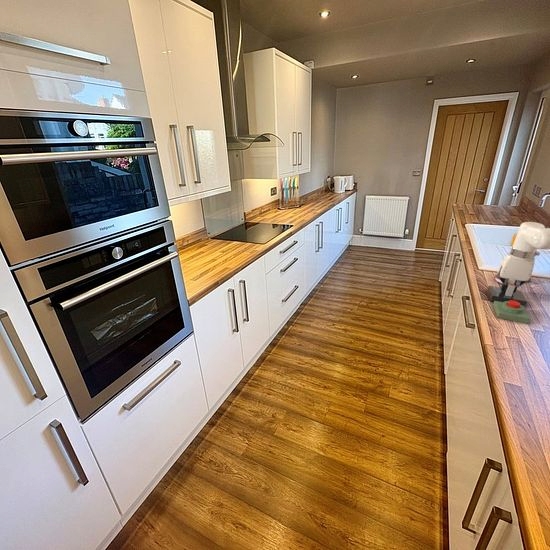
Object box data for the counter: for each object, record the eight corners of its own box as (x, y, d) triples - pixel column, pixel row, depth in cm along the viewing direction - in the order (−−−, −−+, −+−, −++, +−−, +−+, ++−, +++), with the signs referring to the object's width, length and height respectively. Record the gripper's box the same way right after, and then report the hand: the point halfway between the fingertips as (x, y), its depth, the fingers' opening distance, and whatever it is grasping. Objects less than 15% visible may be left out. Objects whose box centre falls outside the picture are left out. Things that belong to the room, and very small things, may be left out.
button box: (522, 310, 118) (525, 302, 116) (529, 323, 110) (533, 314, 108) (492, 305, 122) (495, 296, 120) (497, 317, 114) (500, 308, 112)
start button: (517, 305, 115) (519, 301, 114) (519, 309, 112) (521, 305, 111) (506, 303, 116) (508, 299, 115) (508, 307, 113) (510, 303, 112)
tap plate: (518, 296, 127) (521, 290, 126) (524, 307, 119) (527, 301, 118) (486, 291, 132) (488, 285, 131) (490, 301, 124) (492, 295, 123)
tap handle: (502, 289, 127) (506, 278, 125) (508, 290, 127) (512, 279, 124) (505, 295, 123) (509, 284, 120) (511, 296, 122) (515, 285, 119)
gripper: (544, 252, 116) (527, 292, 124) (496, 247, 123) (483, 285, 131) (550, 259, 110) (532, 301, 118) (500, 253, 117) (486, 293, 125)
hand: (507, 292), depth 125 cm, fingers closed on tap handle, 2 cm apart
